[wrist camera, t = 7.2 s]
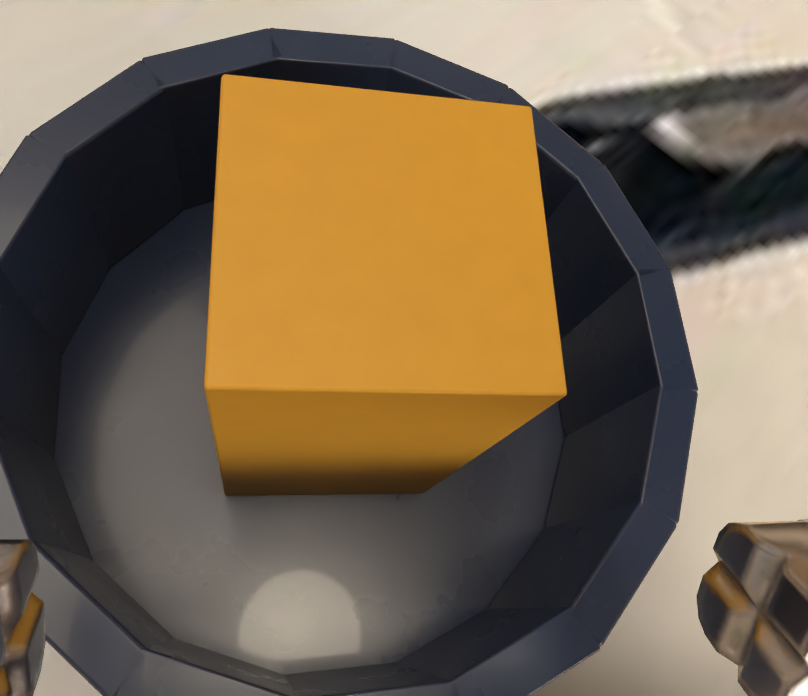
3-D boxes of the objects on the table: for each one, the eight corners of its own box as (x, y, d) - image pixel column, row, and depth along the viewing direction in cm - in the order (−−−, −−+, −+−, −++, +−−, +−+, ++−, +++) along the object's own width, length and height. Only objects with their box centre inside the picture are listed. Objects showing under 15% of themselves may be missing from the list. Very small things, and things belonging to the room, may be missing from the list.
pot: (433, 114, 23) (485, -25, 18) (676, 532, 20) (822, 504, 15) (-58, 264, 18) (-174, 131, 13) (157, 850, 15) (111, 970, 10)
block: (415, 314, 20) (532, 105, 12) (424, 493, 18) (569, 395, 10) (232, 306, 19) (220, 71, 11) (223, 495, 17) (203, 388, 9)
